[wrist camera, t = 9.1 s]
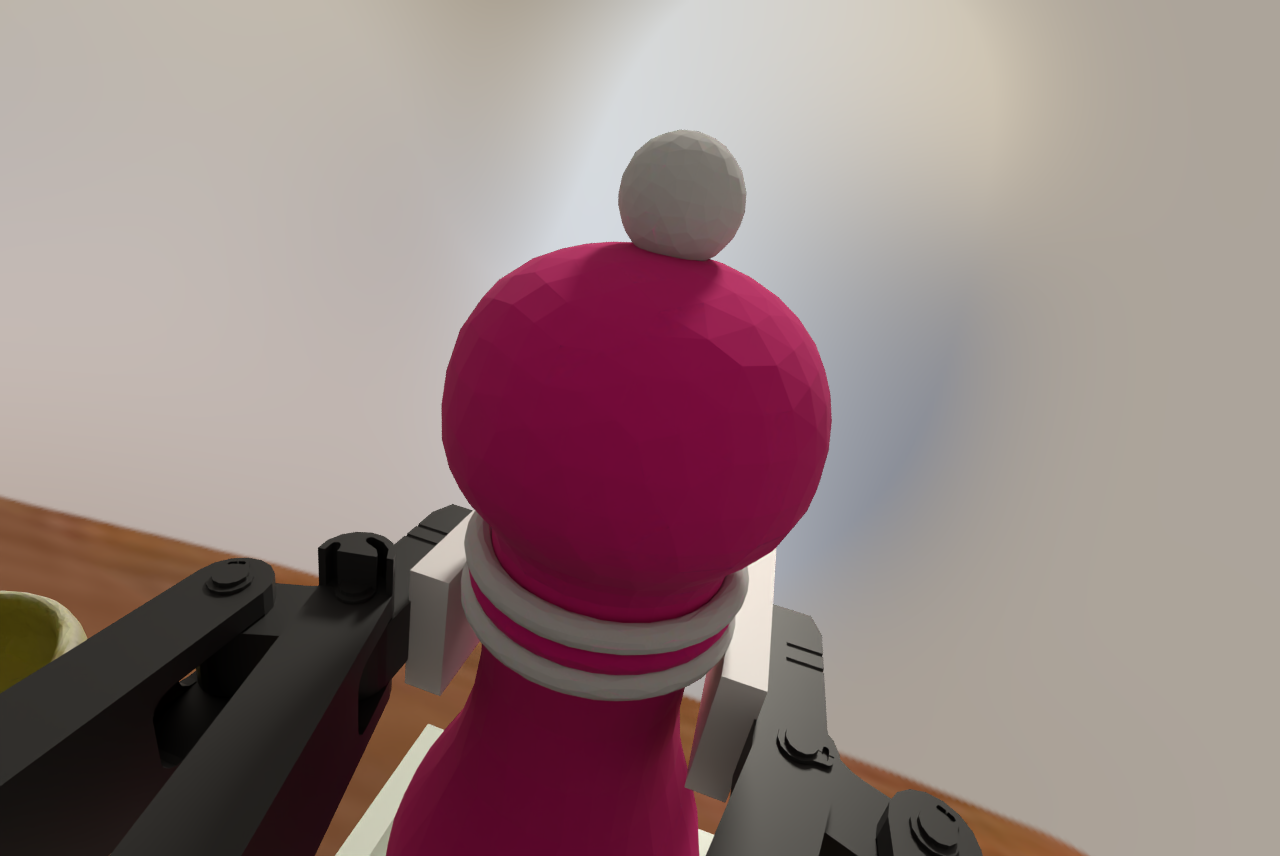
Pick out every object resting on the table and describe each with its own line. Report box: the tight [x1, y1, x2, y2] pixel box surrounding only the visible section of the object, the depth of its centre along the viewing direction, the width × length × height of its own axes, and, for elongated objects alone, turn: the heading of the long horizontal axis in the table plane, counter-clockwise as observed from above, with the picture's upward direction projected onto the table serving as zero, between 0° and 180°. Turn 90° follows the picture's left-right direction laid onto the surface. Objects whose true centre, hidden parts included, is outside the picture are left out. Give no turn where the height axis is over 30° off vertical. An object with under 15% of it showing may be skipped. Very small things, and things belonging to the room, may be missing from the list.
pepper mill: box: [386, 130, 832, 856], centre depth 12 cm, size 7×7×20 cm
